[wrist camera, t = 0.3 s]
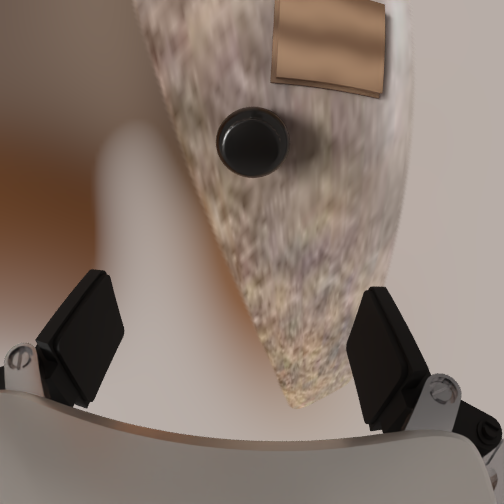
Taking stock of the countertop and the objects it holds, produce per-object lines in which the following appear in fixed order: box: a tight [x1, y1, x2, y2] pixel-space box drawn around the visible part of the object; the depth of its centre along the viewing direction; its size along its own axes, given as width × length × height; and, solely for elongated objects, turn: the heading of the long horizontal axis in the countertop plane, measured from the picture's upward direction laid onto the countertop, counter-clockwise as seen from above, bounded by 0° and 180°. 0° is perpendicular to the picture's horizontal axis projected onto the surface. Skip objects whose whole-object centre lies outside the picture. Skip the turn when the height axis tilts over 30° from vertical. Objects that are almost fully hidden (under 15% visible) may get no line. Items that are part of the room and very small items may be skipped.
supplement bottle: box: [216, 107, 290, 178], centre depth 27 cm, size 7×7×12 cm
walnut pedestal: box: [271, 0, 385, 98], centre depth 24 cm, size 13×13×3 cm
